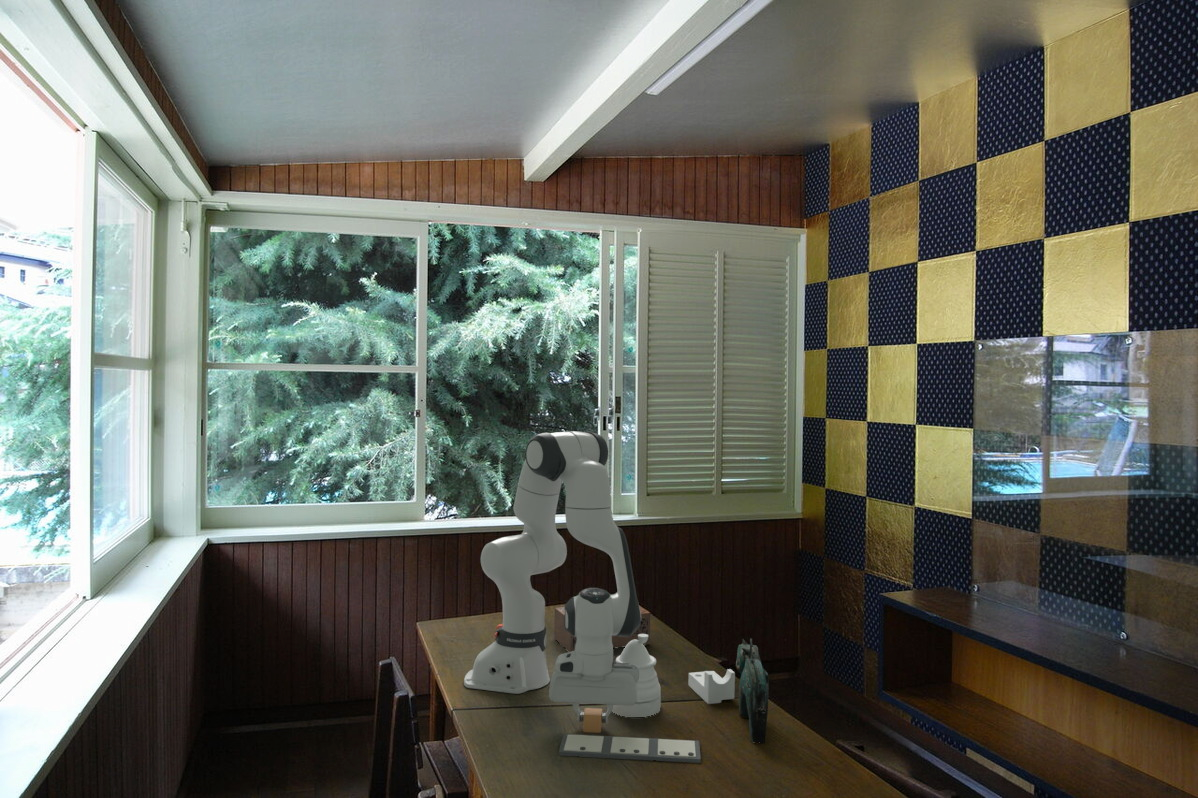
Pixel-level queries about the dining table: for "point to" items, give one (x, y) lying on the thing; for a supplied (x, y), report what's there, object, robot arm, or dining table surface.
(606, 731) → the dining table surface
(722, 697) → the bracket
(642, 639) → the honey pot
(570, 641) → the tissue box cover
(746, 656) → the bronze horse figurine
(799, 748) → the dining table surface
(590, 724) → the block
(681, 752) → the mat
